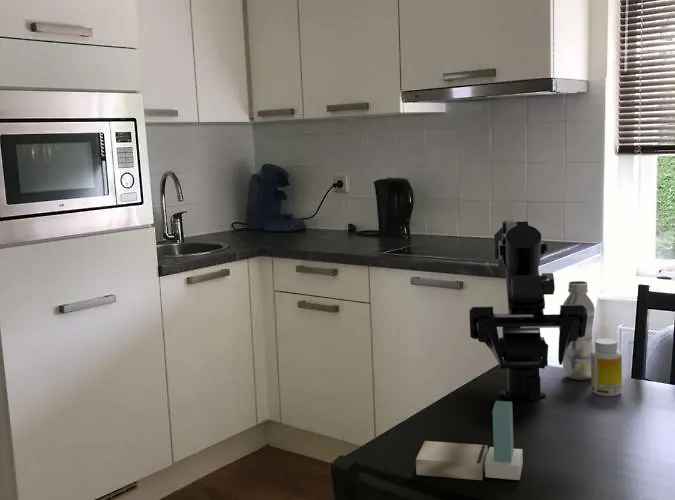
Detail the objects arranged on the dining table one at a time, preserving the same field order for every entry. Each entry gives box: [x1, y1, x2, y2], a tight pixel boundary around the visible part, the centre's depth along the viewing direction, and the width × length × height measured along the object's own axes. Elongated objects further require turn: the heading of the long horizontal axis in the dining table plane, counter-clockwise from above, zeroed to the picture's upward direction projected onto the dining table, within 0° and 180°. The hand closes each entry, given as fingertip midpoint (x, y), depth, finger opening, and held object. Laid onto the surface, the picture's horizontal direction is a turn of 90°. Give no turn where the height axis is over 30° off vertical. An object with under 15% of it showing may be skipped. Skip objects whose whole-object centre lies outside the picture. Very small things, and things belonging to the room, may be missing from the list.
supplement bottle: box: [590, 338, 623, 397], centre depth 143 cm, size 6×6×10 cm
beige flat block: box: [415, 440, 489, 481], centre depth 116 cm, size 10×7×3 cm
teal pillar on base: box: [484, 400, 524, 481], centre depth 113 cm, size 5×6×10 cm
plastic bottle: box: [562, 280, 596, 381], centre depth 151 cm, size 6×7×20 cm
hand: (530, 363), depth 118 cm, fingers open, 9 cm apart
